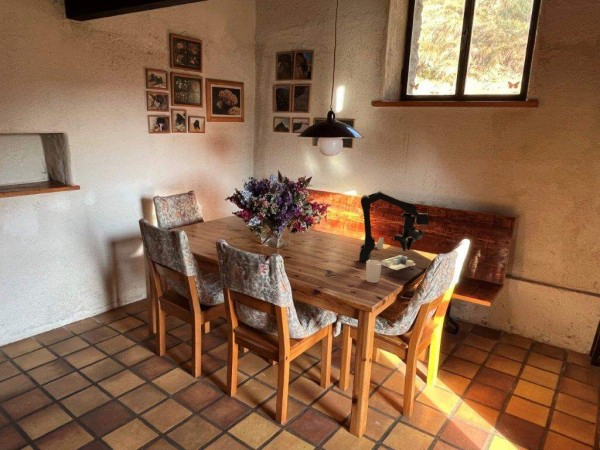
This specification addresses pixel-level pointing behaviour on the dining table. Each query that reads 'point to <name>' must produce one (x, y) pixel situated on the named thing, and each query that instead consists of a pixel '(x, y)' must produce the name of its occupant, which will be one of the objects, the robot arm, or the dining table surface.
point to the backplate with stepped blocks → (395, 262)
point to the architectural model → (380, 243)
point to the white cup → (373, 270)
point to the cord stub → (406, 261)
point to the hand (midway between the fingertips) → (406, 250)
